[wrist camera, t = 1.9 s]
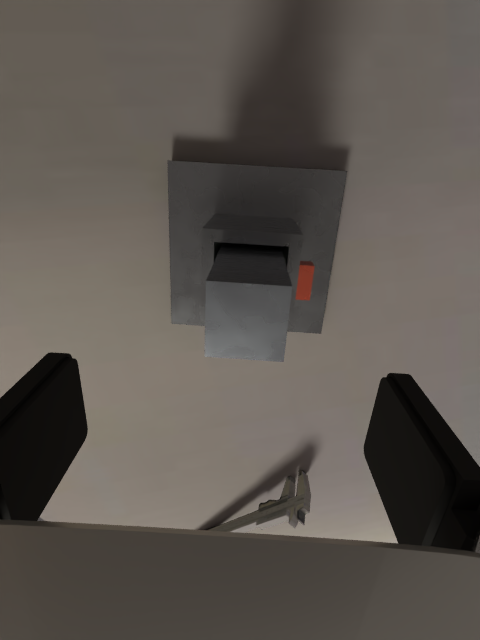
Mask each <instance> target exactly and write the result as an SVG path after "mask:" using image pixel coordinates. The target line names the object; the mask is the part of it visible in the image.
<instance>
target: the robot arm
mask: <svg viewBox="0 0 480 640" xmlns="http://www.w3.org/2000/svg"><path fill="white" fill-rule="evenodd" d="M87 430H88V428H87V421H86V414H85V408H84V401H83V395H82V388H81V381H80V375H79V368H78V363H77V360H76V359H72V356H71V355H70V354H67V353H48V354H46V355H45V356H44V357H43V358H42V359H41V360H40V361H39V362H38V363H37V364H36V365H35V366H34V367H33V368H32V369H31V370H30V371H29V372H27V373H26V374H25V375H24V376H23V377H22V378H21V379H20V380H19V381H18V382H17V383H16V384H15V385H14V386H13V387H12V388H11V389H9V390H8V391H7V392H6V393H5V394H4V395H3V396H2V397H1V398H0V640H480V467H479V466H478V464H477V463H476V462H475V460H474V459H473V458H472V456H471V455H470V454H469V452H468V451H467V450H466V448H465V447H464V446H463V444H462V443H461V442H460V440H459V439H458V438H457V436H456V435H455V434H454V432H453V431H452V430H451V428H450V427H449V426H448V424H447V423H446V422H445V420H444V419H443V418H442V416H441V415H440V414H439V412H438V411H437V410H436V408H435V407H434V406H433V404H432V403H431V402H430V400H429V399H428V398H427V396H426V395H425V394H424V392H423V391H422V390H421V388H420V387H419V386H418V384H417V383H416V382H415V380H414V379H413V378H412V376H411V375H409V374H398V373H389V374H388V375H387V377H383V378H382V379H381V381H380V384H379V388H378V392H377V396H376V400H375V404H374V408H373V412H372V416H371V420H370V424H369V428H368V432H367V435H366V439H365V443H364V455H365V458H366V461H367V464H368V466H369V469H370V471H371V474H372V476H373V479H374V482H375V484H376V487H377V489H378V492H379V494H380V497H381V500H382V502H383V505H384V507H385V510H386V512H387V515H388V518H389V520H390V523H391V525H392V528H393V531H394V533H395V536H396V538H397V541H398V543H399V544H397V543H385V542H373V541H360V540H345V539H330V538H315V537H300V536H285V535H271V534H255V533H239V532H223V531H207V530H190V529H174V528H157V527H140V526H122V525H104V524H86V523H68V522H50V521H37V520H38V518H39V517H40V515H41V513H42V512H43V510H44V508H45V507H46V505H47V503H48V502H49V500H50V498H51V497H52V495H53V493H54V491H55V490H56V488H57V486H58V485H59V483H60V481H61V480H62V478H63V476H64V475H65V473H66V471H67V470H68V468H69V466H70V465H71V463H72V461H73V459H74V458H75V456H76V454H77V453H78V451H79V449H80V448H81V446H82V444H83V443H84V441H85V439H86V436H87Z"/></svg>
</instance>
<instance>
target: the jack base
mask: <svg viewBox="0 0 480 640" xmlns="http://www.w3.org/2000/svg"><path fill="white" fill-rule="evenodd" d="M346 175H347V171H338V170H321V169H304V168H287V167H270V166H253V165H236V164H219V163H203V162H186V161H169V160H168V198H169V238H170V279H171V319H172V324H186V325H201V326H205V304H206V279H207V277H208V275H209V273H210V270H211V268H212V266H213V264H214V261H215V259H216V257H217V255H218V252H219V250H220V248H221V246H222V243H223V242H224V243H240V244H255V245H271V246H281V249H282V253H283V256H284V260H285V263H286V266H287V270H288V273H289V277H290V280H291V283H292V294H291V303H290V311H289V320H288V328H287V331H289V332H304V333H319V334H321V330H322V324H323V318H324V311H325V305H326V299H327V293H328V287H329V280H330V274H331V268H332V262H333V256H334V249H335V243H336V237H337V231H338V224H339V218H340V212H341V206H342V200H343V193H344V187H345V181H346Z"/></svg>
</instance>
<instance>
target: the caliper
mask: <svg viewBox="0 0 480 640" xmlns="http://www.w3.org/2000/svg"><path fill="white" fill-rule="evenodd" d="M294 496H295V480H294V479H293V478H292V477H291V476H290V477H288V478H287V479H286V482H285V485H284V488H283V491H282V494H281V497H280V499H279V500H277V501H276V500H268V501H267V502H265V503H260V504H259V509H258V510H257V511H255V512H252V513H250V514H247V515H245V516H242V517H239V518H237V519H234V520H232V521H229V522H227V523H224V524H221V525H219V526H216V527H213V528H211V529H208V530H207V531H223V532H239V533H245V532H248V531H251V530H253V529H256V528H260V529H261V530H263V529H266V528H269V527H272V526H275V525H279V524H282V523H285V522H288V521H289V524H290V525H291V526H293V527H294V528H296V526H297V524H298V521H299V522H300V523H301V524H303V525H304V522H305V515H306V514H308V513H309V511H310V499H311V493H310V487H309V481H308V476H307V475H306V474H305V473H304V472H303V471H301V470H300V471H299V475H298V484H297V493H296V496H295V497H294Z"/></svg>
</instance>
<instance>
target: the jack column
mask: <svg viewBox="0 0 480 640" xmlns="http://www.w3.org/2000/svg"><path fill="white" fill-rule="evenodd" d="M291 294H292V283H291V280H290V277H289V273H288V270H287V266H286V263H285V260H284V256H283V253H282V249H281V246H271V245H255V244H240V243H224V242H223V243H222V246H221V248H220V250H219V252H218V255H217V257H216V259H215V261H214V264H213V266H212V268H211V270H210V273H209V275H208V277H207V279H206V304H205V356H206V357H220V358H235V359H249V360H263V361H278V362H284V353H285V345H286V336H287V328H288V320H289V311H290V303H291Z"/></svg>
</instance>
